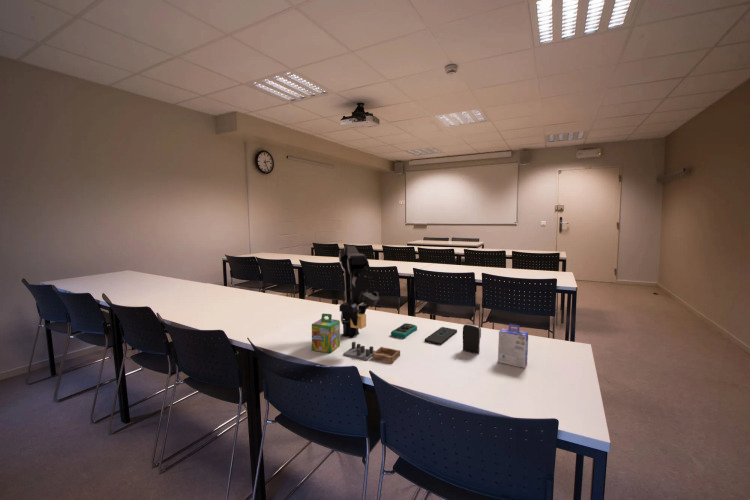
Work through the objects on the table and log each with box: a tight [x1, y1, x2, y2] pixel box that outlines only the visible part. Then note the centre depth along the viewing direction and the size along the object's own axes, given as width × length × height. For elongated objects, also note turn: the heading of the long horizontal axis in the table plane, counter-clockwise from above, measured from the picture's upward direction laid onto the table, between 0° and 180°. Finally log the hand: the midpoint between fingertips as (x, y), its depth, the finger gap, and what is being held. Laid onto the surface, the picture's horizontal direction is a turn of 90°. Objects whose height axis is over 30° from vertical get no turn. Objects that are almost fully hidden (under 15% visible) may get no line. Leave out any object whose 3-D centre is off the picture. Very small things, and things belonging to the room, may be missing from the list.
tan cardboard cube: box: [350, 313, 367, 330], centre depth 132 cm, size 5×4×5 cm
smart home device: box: [424, 326, 458, 346], centre depth 151 cm, size 8×2×20 cm
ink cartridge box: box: [497, 323, 529, 369], centre depth 123 cm, size 10×6×14 cm, turn 58°
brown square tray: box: [371, 346, 401, 364], centre depth 129 cm, size 9×8×2 cm
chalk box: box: [311, 313, 341, 354], centre depth 138 cm, size 9×9×15 cm
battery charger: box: [462, 322, 482, 355], centre depth 134 cm, size 7×4×11 cm, turn 58°
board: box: [342, 341, 376, 362], centre depth 132 cm, size 11×8×3 cm
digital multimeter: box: [390, 322, 418, 339], centre depth 156 cm, size 7×15×3 cm, turn 148°
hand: (358, 324), depth 132 cm, fingers closed on tan cardboard cube, 4 cm apart
